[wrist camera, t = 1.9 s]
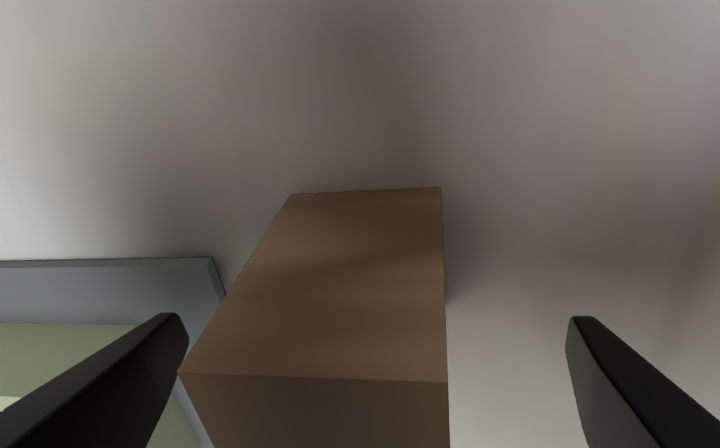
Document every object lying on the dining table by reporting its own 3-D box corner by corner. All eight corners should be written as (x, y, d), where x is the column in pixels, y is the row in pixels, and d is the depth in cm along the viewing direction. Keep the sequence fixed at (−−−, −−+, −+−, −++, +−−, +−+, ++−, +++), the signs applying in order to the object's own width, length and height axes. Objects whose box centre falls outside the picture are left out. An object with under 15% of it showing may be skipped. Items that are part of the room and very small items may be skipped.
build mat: (212, 257, 13) (205, 264, 13) (291, 475, 19) (289, 484, 18) (-90, 263, 15) (-102, 269, 15) (66, 456, 21) (60, 464, 21)
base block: (136, 325, 14) (72, 400, 12) (199, 445, 18) (161, 524, 15) (-27, 322, 16) (-115, 389, 13) (62, 435, 19) (5, 505, 17)
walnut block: (440, 186, 11) (447, 382, 6) (444, 306, 13) (453, 532, 7) (291, 193, 11) (175, 372, 6) (317, 305, 13) (245, 510, 8)
